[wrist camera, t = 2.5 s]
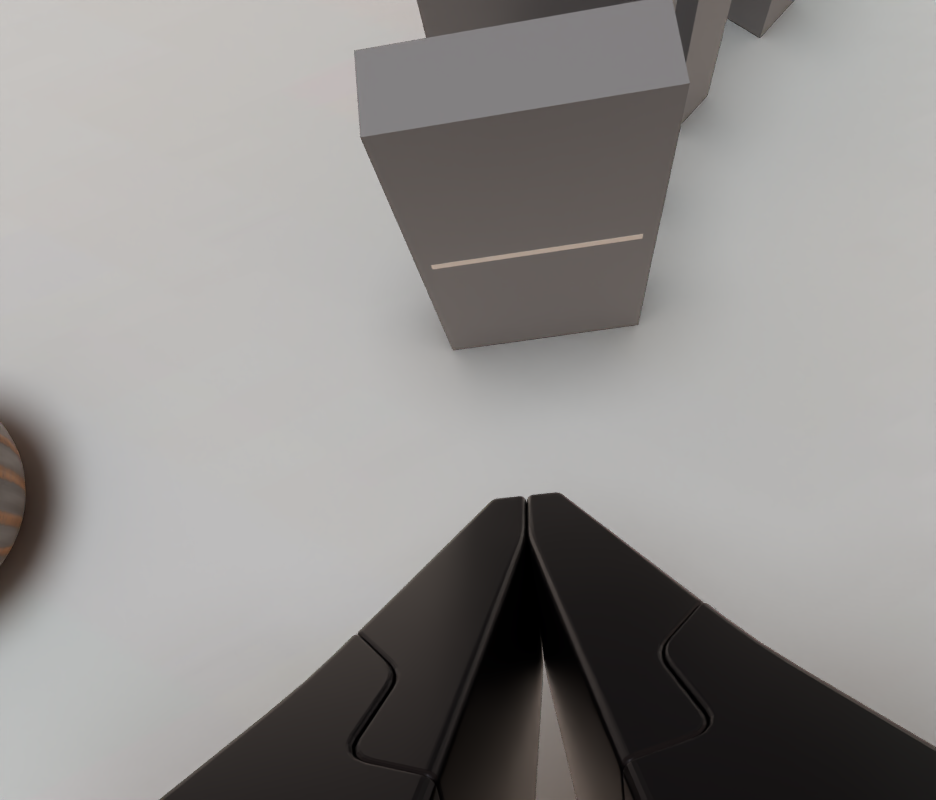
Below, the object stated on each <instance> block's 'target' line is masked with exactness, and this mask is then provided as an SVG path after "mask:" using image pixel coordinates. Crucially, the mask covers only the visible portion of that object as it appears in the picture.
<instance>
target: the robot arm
mask: <svg viewBox="0 0 936 800" xmlns="http://www.w3.org/2000/svg"><path fill="white" fill-rule="evenodd" d="M542 647H543V651H542ZM543 654H544V662H545V668H546V673H547V678H548V682H549V687H550V691H551V695H552V699H553V703H554V707H555V711H556V716H557V720H558V724H559V728H560V732H561V736H562V740H563V744H564V749H565V753H566V757H567V761H568V765H569V769H570V773H571V778H572V782H573V786H574V790H575V794H576V798H577V800H936V747H935V746H933V745H931V744H930V743H928V742H926V741H925V740H923V739H921V738H920V737H918V736H916V735H914V734H913V733H911V732H909V731H908V730H906V729H904V728H903V727H901V726H899V725H897V724H896V723H894V722H892V721H891V720H889V719H887V718H886V717H884V716H882V715H880V714H879V713H877V712H875V711H874V710H872V709H870V708H869V707H867V706H865V705H864V704H862V703H860V702H858V701H857V700H855V699H853V698H852V697H850V696H848V695H847V694H845V693H843V692H841V691H840V690H838V689H836V688H835V687H833V686H831V685H830V684H828V683H826V682H825V681H823V680H821V679H819V678H818V677H816V676H814V675H813V674H811V673H809V672H808V671H806V670H804V669H803V668H801V667H799V666H798V665H796V664H795V663H793V662H791V661H790V660H788V659H787V658H785V657H783V656H782V655H780V654H779V653H777V652H775V651H774V650H772V649H771V648H769V647H767V646H766V645H764V644H763V643H761V642H760V641H758V640H757V639H755V638H754V637H752V636H751V635H750V634H748V633H747V632H745V631H744V630H743V629H741V628H740V627H738V626H737V625H736V624H734V623H733V622H731V621H730V620H728V619H727V618H726V617H724V616H723V615H722V614H720V613H719V612H718V611H716V610H715V609H714V608H713V607H711V606H710V605H709V604H707V603H703V602H702V601H701V600H700V599H699V598H698V597H696V596H695V595H694V594H692V593H691V592H690V591H688V590H687V589H686V588H684V587H683V586H682V585H681V584H679V583H678V582H677V581H675V580H674V579H673V578H671V577H670V576H669V575H667V574H666V573H665V572H663V571H662V570H661V569H660V568H658V567H657V566H656V565H654V564H653V563H652V562H650V561H649V560H648V559H646V558H645V557H644V556H642V555H641V554H640V553H639V552H637V551H636V550H635V549H633V548H632V547H631V546H629V545H628V544H627V543H625V542H624V541H623V540H621V539H620V538H619V537H618V536H616V535H615V534H614V533H612V532H611V531H610V530H608V529H607V528H606V527H604V526H603V525H602V524H601V523H599V522H598V521H597V520H595V519H594V518H593V517H591V516H590V515H589V514H587V513H586V512H585V511H583V510H582V509H581V508H580V507H578V506H577V505H576V504H574V503H573V502H572V501H570V500H569V499H568V498H566V497H565V496H564V495H562V494H560V493H546V494H537V495H531V496H529V497H528V499H527V502H526V499H525V498H524V497H521V496H518V497H508V498H499V499H494V500H492V501H491V502H490V503H489V504H488V505H487V506H486V507H485V508H484V509H483V510H482V511H481V512H480V513H479V514H478V515H477V516H476V517H475V518H474V519H473V520H472V521H471V522H469V523H468V524H467V525H466V526H465V527H464V528H463V529H462V530H461V531H460V532H459V533H458V534H457V535H456V536H455V537H454V538H453V539H452V540H451V541H450V542H449V543H448V544H447V545H446V546H445V547H444V548H443V549H442V550H441V551H440V552H439V553H438V554H437V555H436V556H435V557H434V558H433V559H432V560H431V561H430V562H429V563H428V564H427V565H426V566H425V567H424V568H423V569H422V570H421V571H420V572H419V573H418V574H417V575H416V576H415V577H414V578H413V579H412V580H411V581H410V582H409V583H408V584H407V585H406V586H405V587H404V588H403V589H402V590H401V591H400V592H399V593H398V594H397V595H396V596H395V597H393V598H392V599H391V600H390V601H389V602H388V603H387V604H386V605H385V606H384V607H383V608H382V609H381V610H380V611H379V612H378V613H377V614H376V615H375V616H374V617H373V618H372V619H371V620H370V621H369V622H368V623H367V624H366V625H365V626H364V627H363V628H362V629H361V630H360V631H359V632H358V635H354V636H352V637H351V638H350V639H349V640H348V641H347V642H346V643H345V644H344V645H343V646H342V647H341V648H340V649H339V650H338V651H337V652H336V653H335V654H334V655H333V656H332V657H331V658H330V659H329V660H327V661H326V662H325V663H324V664H323V665H322V666H321V667H320V668H319V669H318V670H317V671H316V672H315V673H313V674H312V675H311V676H310V677H309V678H308V679H307V680H306V681H305V682H304V683H303V684H301V685H300V686H299V687H298V688H297V689H295V690H294V691H293V692H292V693H291V694H289V695H288V696H287V697H286V698H285V699H283V700H282V701H281V702H280V703H279V704H277V705H276V706H275V707H274V708H273V709H272V710H270V711H269V712H268V713H267V714H266V715H264V716H263V717H262V718H261V719H259V720H258V721H257V722H256V723H254V724H253V725H252V726H251V727H249V728H248V729H247V730H246V731H244V732H243V733H242V734H241V735H239V736H238V737H237V738H236V739H234V740H233V741H232V742H231V743H229V744H228V745H227V746H226V747H224V748H223V749H222V750H221V751H219V752H218V753H217V754H216V755H214V756H213V757H212V758H211V759H209V760H208V761H207V762H206V763H204V764H203V765H202V766H201V767H199V768H198V769H197V770H196V771H194V772H193V773H192V774H191V775H189V776H188V777H187V778H186V779H185V780H183V781H182V782H181V783H180V784H178V785H177V786H176V787H175V788H173V789H172V790H171V791H170V792H168V793H167V794H166V795H165V796H163V797H162V798H161V799H160V800H535V797H536V781H537V765H538V749H539V733H540V718H541V702H542V686H543Z"/></svg>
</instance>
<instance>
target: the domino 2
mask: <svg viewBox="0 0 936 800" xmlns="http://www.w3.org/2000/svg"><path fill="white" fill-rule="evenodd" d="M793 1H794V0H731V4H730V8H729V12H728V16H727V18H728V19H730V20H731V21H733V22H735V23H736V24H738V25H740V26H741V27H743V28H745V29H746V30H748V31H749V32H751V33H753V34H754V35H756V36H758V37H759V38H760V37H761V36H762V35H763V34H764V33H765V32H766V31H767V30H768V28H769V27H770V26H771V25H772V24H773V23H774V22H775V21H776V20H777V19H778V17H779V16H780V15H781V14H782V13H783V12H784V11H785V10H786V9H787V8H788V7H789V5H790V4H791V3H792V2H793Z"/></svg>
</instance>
